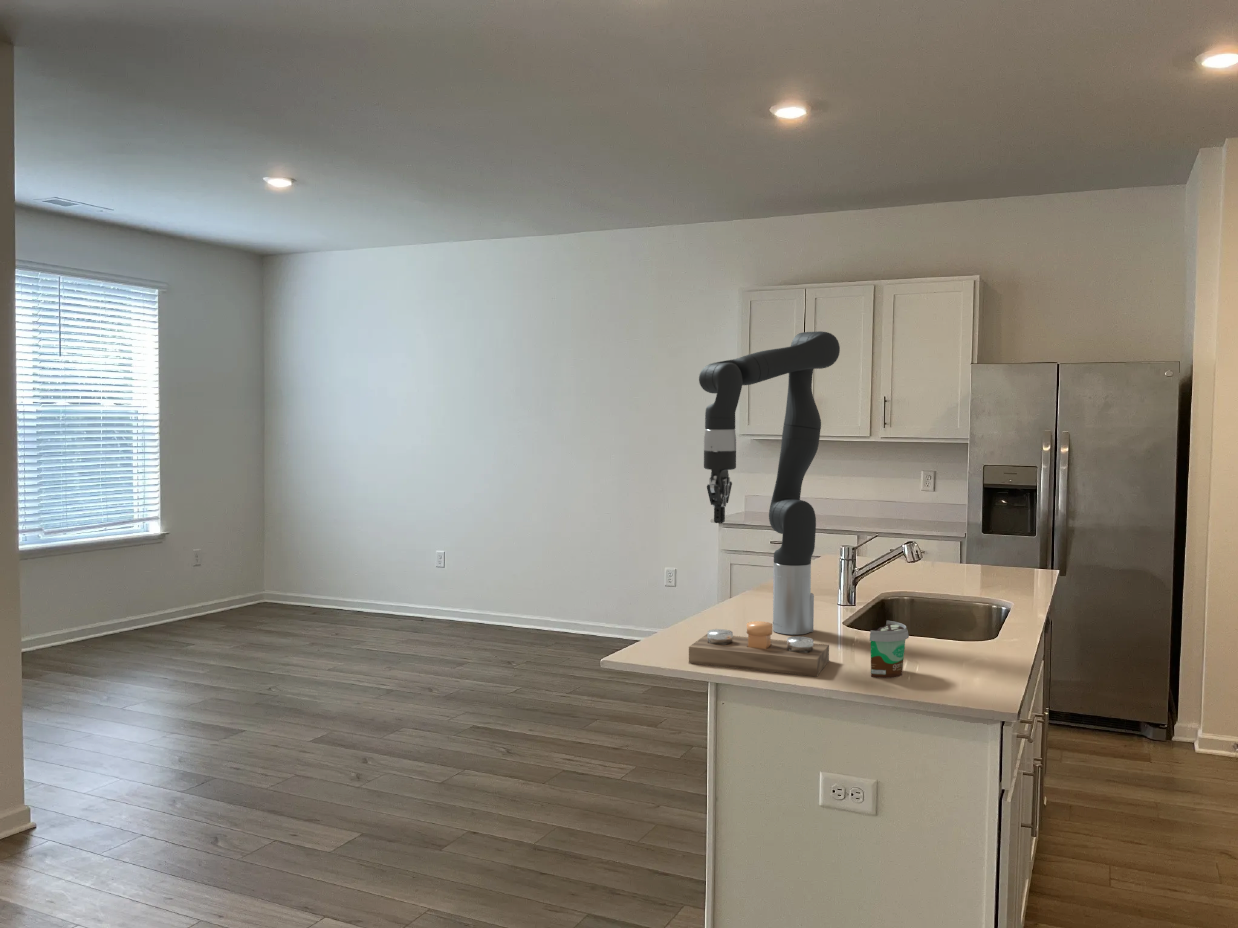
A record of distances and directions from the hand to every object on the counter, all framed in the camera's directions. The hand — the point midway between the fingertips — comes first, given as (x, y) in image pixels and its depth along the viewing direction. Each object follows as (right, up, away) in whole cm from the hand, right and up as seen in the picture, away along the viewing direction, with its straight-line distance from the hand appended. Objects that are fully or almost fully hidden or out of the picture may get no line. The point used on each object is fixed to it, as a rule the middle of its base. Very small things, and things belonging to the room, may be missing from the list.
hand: (719, 522), depth 229 cm
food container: (+34, -31, -23) cm, 51 cm away
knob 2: (+16, -30, -17) cm, 38 cm away
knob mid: (+7, -27, -14) cm, 31 cm away
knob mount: (+7, -30, -14) cm, 34 cm away
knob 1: (-1, -30, -10) cm, 31 cm away
